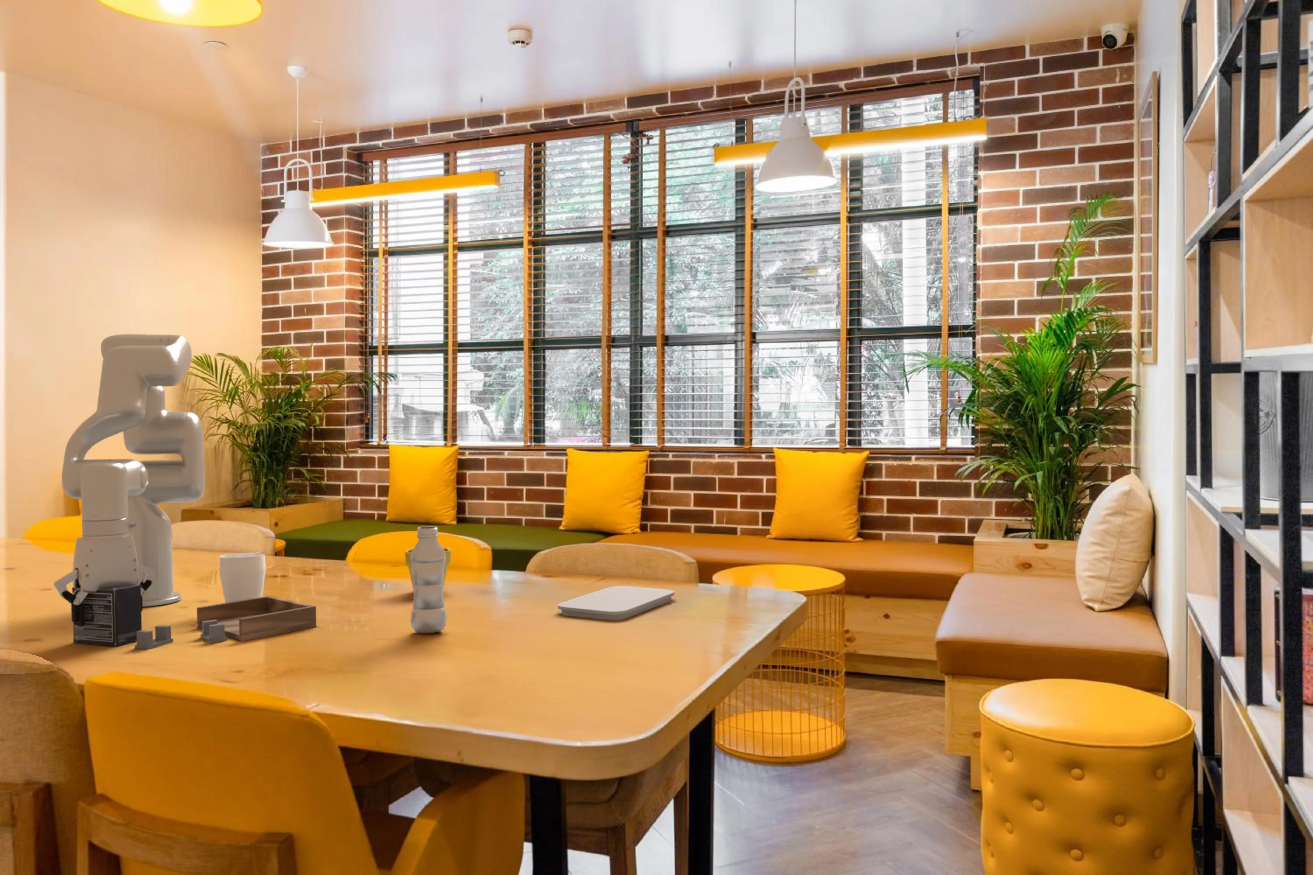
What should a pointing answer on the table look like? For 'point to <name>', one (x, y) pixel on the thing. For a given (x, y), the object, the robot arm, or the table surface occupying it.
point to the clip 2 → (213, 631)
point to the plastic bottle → (428, 582)
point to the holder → (259, 617)
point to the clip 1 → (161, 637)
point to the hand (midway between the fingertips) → (108, 620)
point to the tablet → (615, 602)
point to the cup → (242, 575)
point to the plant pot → (408, 563)
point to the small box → (110, 616)
